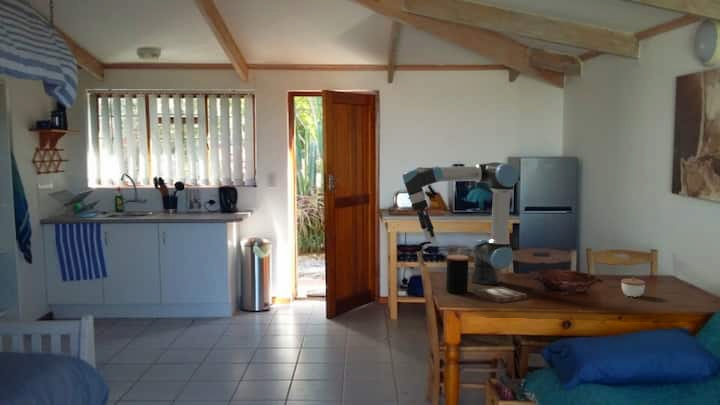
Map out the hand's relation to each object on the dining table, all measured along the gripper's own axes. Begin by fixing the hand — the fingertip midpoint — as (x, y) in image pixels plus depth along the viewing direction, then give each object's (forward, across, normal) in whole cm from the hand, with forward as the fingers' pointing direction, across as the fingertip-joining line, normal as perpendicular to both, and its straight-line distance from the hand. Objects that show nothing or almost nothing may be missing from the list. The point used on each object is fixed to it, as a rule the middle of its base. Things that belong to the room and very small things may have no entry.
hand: (431, 242), depth 291 cm
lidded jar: (+58, +7, +86) cm, 104 cm away
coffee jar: (+29, -4, +5) cm, 29 cm away
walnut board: (+35, +6, +23) cm, 42 cm away
